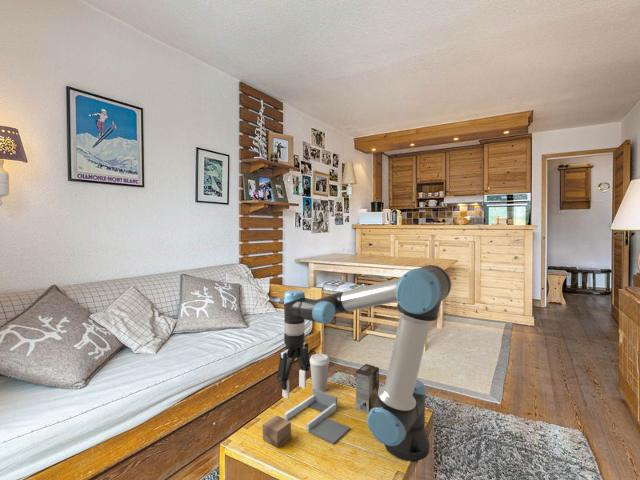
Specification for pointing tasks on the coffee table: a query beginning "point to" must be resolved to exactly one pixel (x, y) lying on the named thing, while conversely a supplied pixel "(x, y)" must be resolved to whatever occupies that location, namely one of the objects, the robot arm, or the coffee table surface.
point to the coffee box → (366, 387)
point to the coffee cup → (319, 371)
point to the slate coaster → (329, 430)
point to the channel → (315, 407)
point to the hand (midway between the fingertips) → (294, 392)
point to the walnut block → (276, 431)
